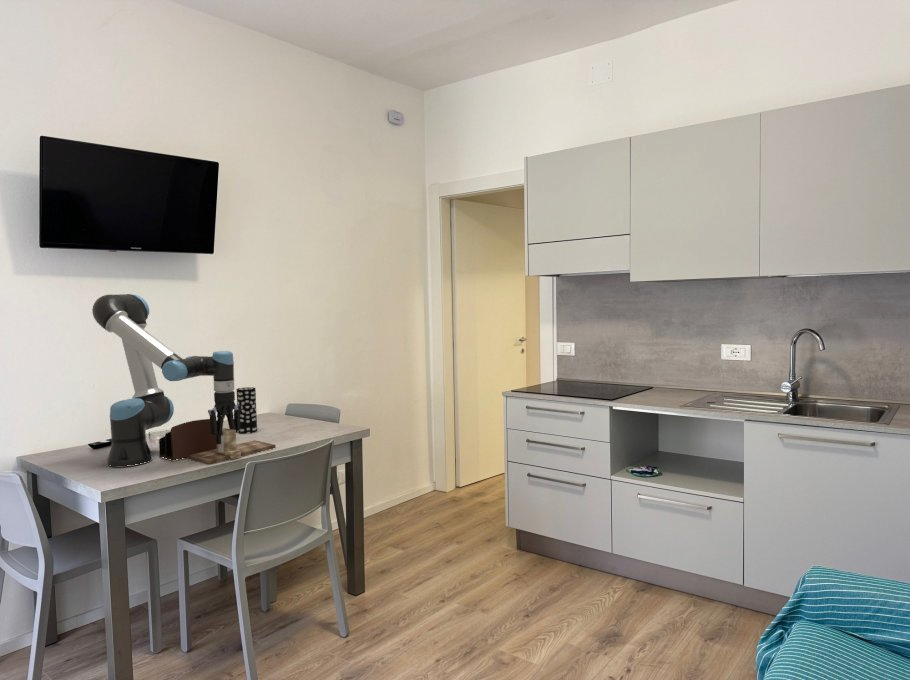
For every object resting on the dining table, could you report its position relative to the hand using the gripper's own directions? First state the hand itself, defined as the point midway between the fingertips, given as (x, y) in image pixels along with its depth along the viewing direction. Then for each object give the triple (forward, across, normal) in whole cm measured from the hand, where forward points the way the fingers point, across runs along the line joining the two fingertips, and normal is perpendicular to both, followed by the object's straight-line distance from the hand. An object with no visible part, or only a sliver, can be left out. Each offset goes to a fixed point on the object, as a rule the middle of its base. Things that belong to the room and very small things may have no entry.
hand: (226, 450), depth 251 cm
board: (+2, +4, +2) cm, 6 cm away
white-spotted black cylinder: (+3, +33, +32) cm, 46 cm away
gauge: (+2, 0, +1) cm, 2 cm away
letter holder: (+3, -6, +16) cm, 18 cm away
